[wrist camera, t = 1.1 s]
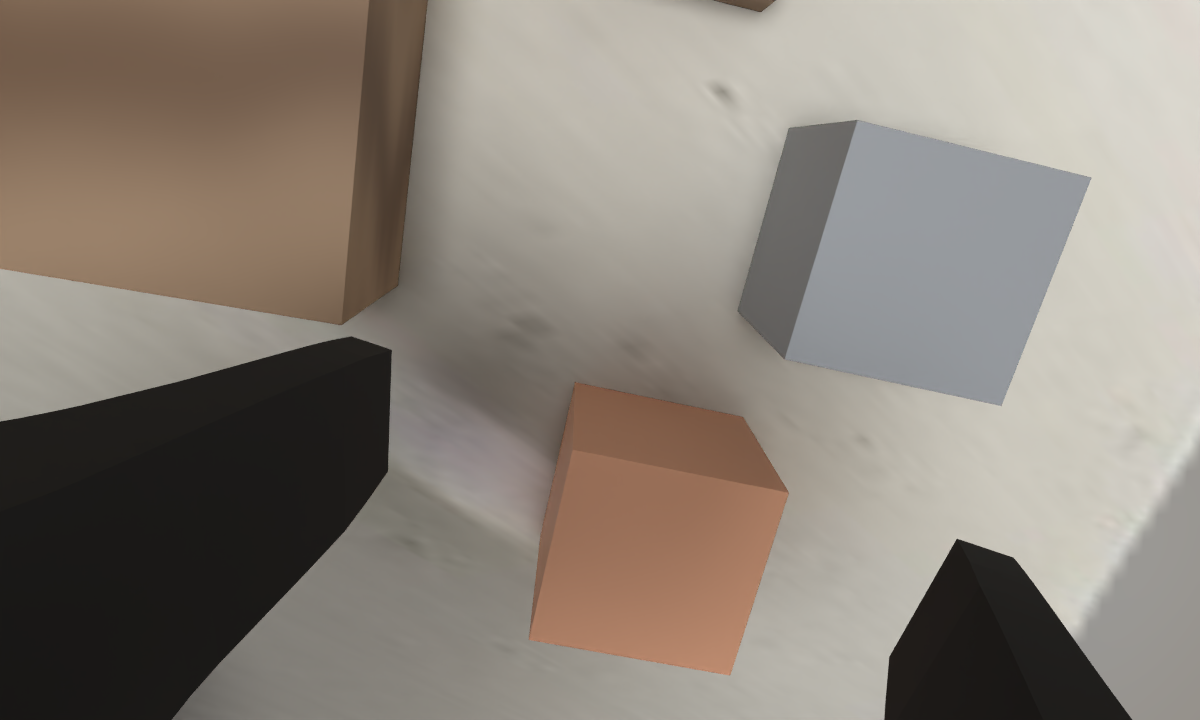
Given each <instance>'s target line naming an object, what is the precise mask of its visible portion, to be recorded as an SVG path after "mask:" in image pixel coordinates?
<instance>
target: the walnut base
mask: <svg viewBox="0 0 1200 720" xmlns="http://www.w3.org/2000/svg"><path fill="white" fill-rule="evenodd" d="M427 3H428V0H0V269H6V270H12V271H18V272H24V273H30V274H36V275H42V276H48V277H54V278H60V279H66V280H72V281H78V282H84V283H90V284H96V285H102V286H108V287H114V288H120V289H126V290H132V291H138V292H145V293H151V294H157V295H163V296H169V297H175V298H181V299H187V300H193V301H199V302H205V303H211V304H217V305H223V306H229V307H235V308H241V309H247V310H253V311H259V312H265V313H271V314H277V315H283V316H289V317H295V318H302V319H308V320H314V321H320V322H326V323H332V324H338V325H342V324H344V323H345V322H346V321H348V320H349V319H351V318H352V317H354V316H355V315H356V314H358V313H359V312H361V311H362V310H364V309H365V308H366V307H368V306H369V305H371V304H372V303H374V302H375V301H376V300H378V299H379V298H381V297H382V296H384V295H385V294H386V293H388V292H389V291H391V290H392V289H394V288H395V287H396V286H398V279H399V269H400V260H401V250H402V241H403V231H404V222H405V212H406V203H407V193H408V184H409V174H410V165H411V155H412V146H413V136H414V127H415V117H416V108H417V98H418V89H419V79H420V69H421V60H422V50H423V41H424V31H425V22H426V12H427Z"/></svg>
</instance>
